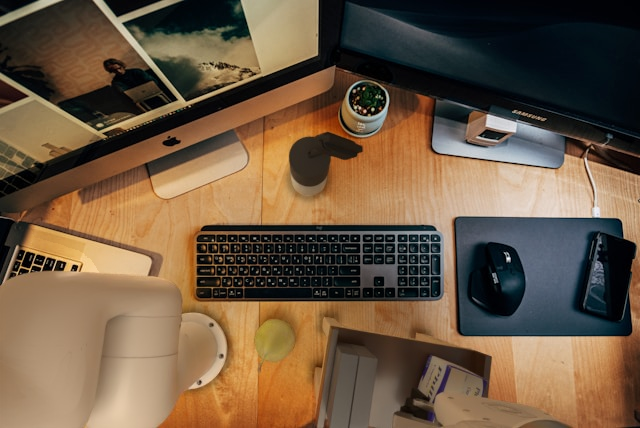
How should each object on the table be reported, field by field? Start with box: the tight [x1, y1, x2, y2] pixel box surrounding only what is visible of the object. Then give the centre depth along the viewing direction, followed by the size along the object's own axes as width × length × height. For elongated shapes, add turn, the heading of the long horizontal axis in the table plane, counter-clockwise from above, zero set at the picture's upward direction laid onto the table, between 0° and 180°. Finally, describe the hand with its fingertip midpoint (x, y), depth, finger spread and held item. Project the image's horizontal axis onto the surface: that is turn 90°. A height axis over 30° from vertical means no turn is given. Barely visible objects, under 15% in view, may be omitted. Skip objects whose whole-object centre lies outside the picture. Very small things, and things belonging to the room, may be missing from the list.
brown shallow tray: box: [315, 326, 493, 428], centre depth 53 cm, size 19×11×5 cm, turn 80°
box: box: [417, 355, 488, 422], centre depth 50 cm, size 8×4×9 cm, turn 157°
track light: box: [288, 131, 364, 197], centre depth 72 cm, size 6×17×20 cm
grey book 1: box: [326, 342, 359, 428], centre depth 49 cm, size 2×8×10 cm, turn 171°
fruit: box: [253, 318, 297, 374], centre depth 71 cm, size 7×8×12 cm
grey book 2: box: [348, 344, 378, 428], centre depth 49 cm, size 2×8×10 cm, turn 170°
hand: (459, 412), depth 44 cm, fingers open, 9 cm apart
